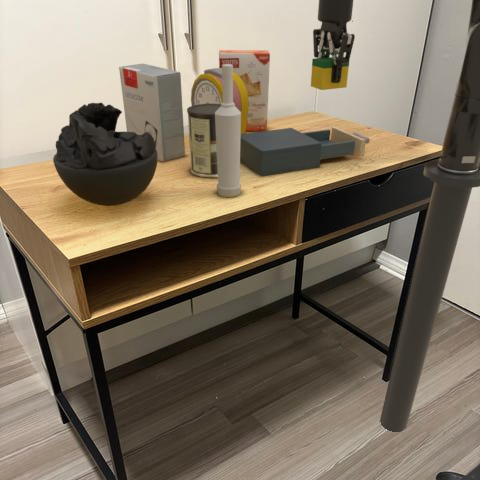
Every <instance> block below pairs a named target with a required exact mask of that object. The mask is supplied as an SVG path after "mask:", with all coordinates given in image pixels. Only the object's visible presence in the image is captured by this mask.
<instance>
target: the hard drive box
mask: <svg viewBox="0 0 480 480" xmlns="http://www.w3.org/2000/svg"><path fill="white" fill-rule="evenodd" d="M118 69H119V75H120V76H119V78H120V79H119V80H120V86H121V93H122V94H121V95H122V101H123V109H124V110H123V111H124V119H125V127H126V132H135V133H136V134H138V135H142V134H144V133H145V132H149V133H150V134H151V135H152V137H153V138H154V144H155V149H156V150H157V153H158V159H157V161H160V162H162V163H164V162H168V161H171V160H175V159H178V158H182V157H185V156H186V144H185V143H186V142H185V130H184V129H185V127H184V126H185V125H184V111H183V110H184V109H183V94H182V93H183V91H182V75H181V74H182V73H181V72H180V71H178V70H173V69H168V68H164V67H160V66H157V65H151V64H147V63H137V64H130V65H121V66H119V67H118Z"/></svg>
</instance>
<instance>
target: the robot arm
mask: <svg viewBox="0 0 480 480" xmlns="http://www.w3.org/2000/svg"><path fill="white" fill-rule="evenodd" d="M470 6H471V7H470V15H469V21H468V26H467V32H466V37H465V46H466V48H465V53H464V57H463V61H462V65H461V69H460V70H461V71H460V74H459V77H458V79H457V82H456V86H455V91H454V95H453V99H452V104H451V108H450V112H449V117H448V122H447V125H446V130H445V135H444V138H443V139H444V140H443V144H442V147H441V152H440V157H439V159H440V160H439V163H438V168H439V169H440V170H442V171H444V172H447V173H451V174H457V175H470V174H475V173H476V172H477V171H478V170H480V0H471V4H470ZM353 8H354V0H318V9H317V21H319V22H321V25H320V28H314V29H313V30H312V38H313V39H312V40H313V41H312V42H313V57H314V58H328V57H332V61H333V65H332V76H331V82H332V83H339V82H340V80H341V73H342V65H344V64H345V63H348V62H349V63H350V59H351V55H352V51H353V46H354V41H355V38H356V37H355V34H354V33H349V32H348V29H347V28H348V27H347V23H350V21H352V18H353V17H352V16H353ZM337 57H338V59H337Z"/></svg>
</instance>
